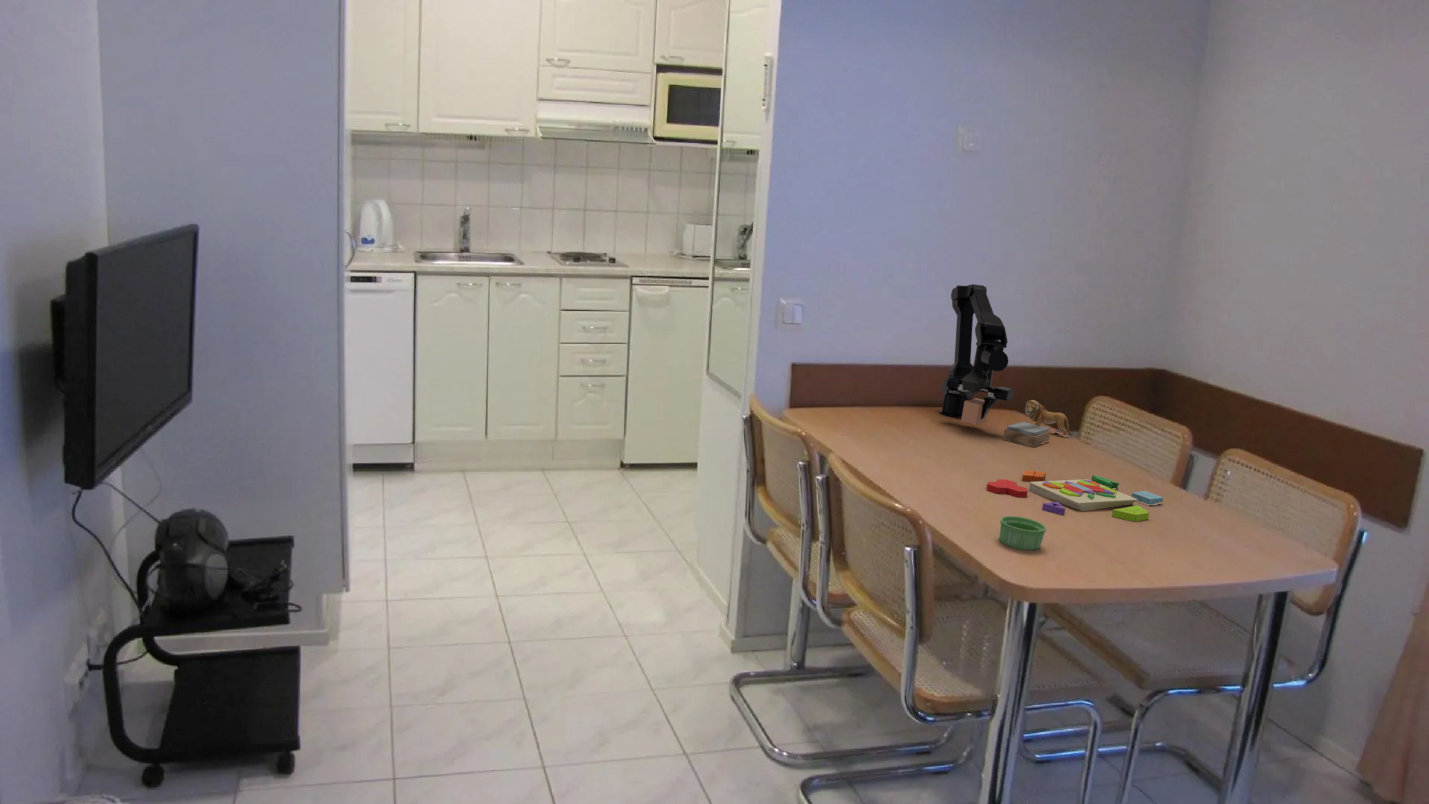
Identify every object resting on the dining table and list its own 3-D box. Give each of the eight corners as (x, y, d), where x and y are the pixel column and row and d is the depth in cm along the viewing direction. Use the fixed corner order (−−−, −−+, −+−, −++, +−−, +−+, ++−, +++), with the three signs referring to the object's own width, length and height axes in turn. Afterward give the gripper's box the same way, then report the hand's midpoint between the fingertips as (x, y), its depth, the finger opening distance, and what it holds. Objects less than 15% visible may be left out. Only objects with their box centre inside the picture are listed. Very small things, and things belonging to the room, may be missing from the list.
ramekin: (1050, 553, 228) (1054, 531, 227) (1009, 550, 226) (1013, 529, 225) (1029, 537, 237) (1033, 516, 236) (989, 535, 235) (993, 514, 234)
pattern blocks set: (1056, 471, 297) (1058, 459, 297) (1182, 510, 274) (1185, 498, 274) (974, 488, 270) (976, 475, 270) (1106, 533, 248) (1109, 520, 247)
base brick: (1002, 439, 324) (1005, 425, 323) (1018, 434, 334) (1021, 420, 333) (1033, 447, 319) (1035, 433, 318) (1048, 441, 329) (1051, 428, 328)
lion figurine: (1020, 430, 340) (1026, 400, 338) (1021, 426, 345) (1027, 397, 343) (1072, 439, 336) (1078, 409, 334) (1072, 436, 341) (1078, 406, 339)
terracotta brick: (961, 421, 330) (964, 400, 328) (972, 418, 336) (976, 398, 335) (975, 424, 327) (978, 404, 326) (986, 421, 334) (990, 401, 332)
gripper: (942, 359, 327) (932, 412, 330) (1004, 373, 317) (994, 428, 320) (958, 356, 336) (949, 408, 339) (1019, 370, 325) (1009, 423, 329)
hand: (974, 417), depth 331 cm, fingers closed on terracotta brick, 4 cm apart
